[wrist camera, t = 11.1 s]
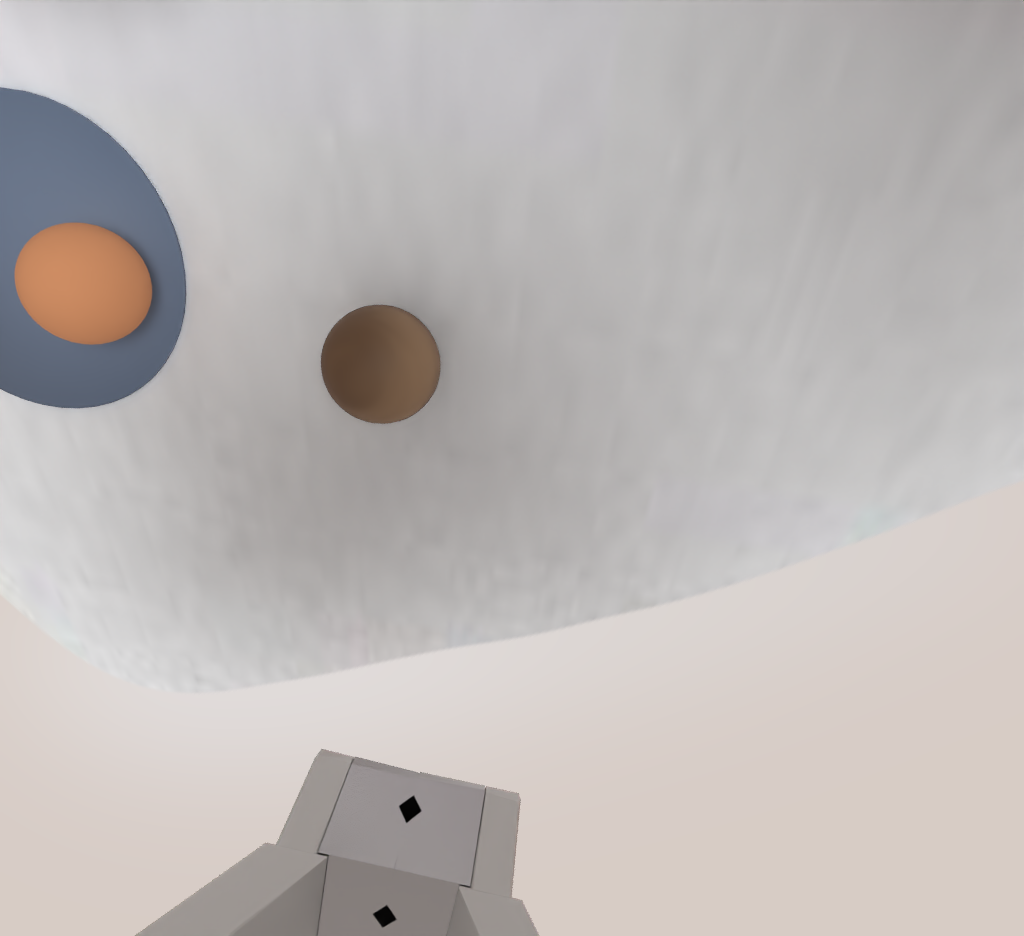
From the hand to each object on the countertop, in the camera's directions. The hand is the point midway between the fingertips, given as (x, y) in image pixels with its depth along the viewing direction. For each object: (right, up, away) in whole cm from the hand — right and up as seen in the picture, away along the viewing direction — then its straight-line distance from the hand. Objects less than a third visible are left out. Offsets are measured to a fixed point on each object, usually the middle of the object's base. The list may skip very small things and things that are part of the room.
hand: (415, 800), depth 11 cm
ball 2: (-4, +9, +20) cm, 22 cm away
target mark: (-20, +14, +22) cm, 33 cm away
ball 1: (-17, +13, +20) cm, 29 cm away
